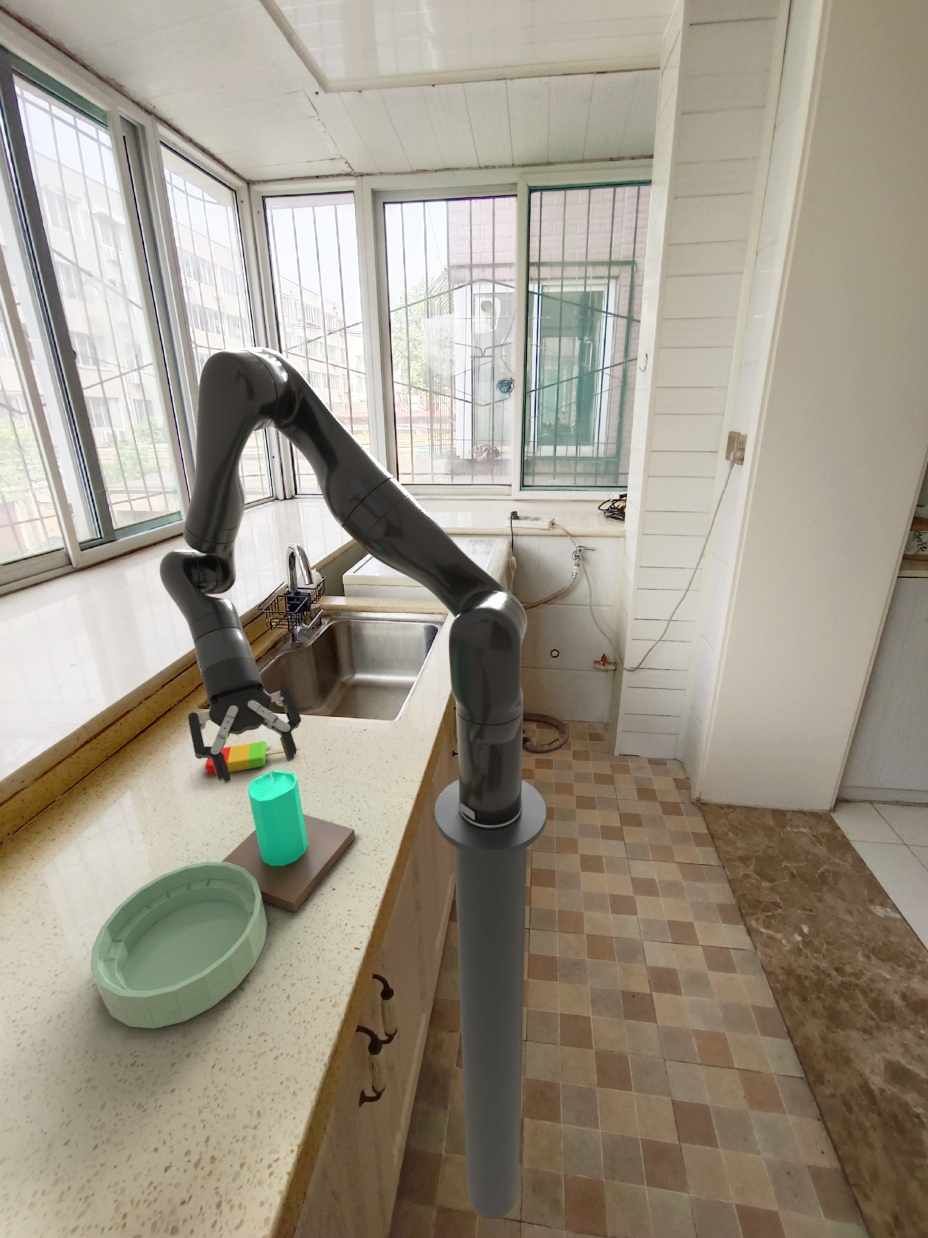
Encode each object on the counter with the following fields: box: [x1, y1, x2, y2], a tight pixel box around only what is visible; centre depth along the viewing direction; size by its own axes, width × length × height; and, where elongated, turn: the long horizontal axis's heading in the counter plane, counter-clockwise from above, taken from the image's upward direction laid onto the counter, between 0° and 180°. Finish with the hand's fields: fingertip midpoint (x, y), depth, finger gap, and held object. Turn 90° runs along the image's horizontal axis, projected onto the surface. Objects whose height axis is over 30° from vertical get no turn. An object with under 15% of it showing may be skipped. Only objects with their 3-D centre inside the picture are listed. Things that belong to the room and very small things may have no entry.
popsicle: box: [205, 740, 301, 776], centre depth 93 cm, size 6×15×2 cm, turn 105°
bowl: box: [90, 861, 268, 1029], centre depth 59 cm, size 16×16×5 cm
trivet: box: [221, 813, 356, 913], centre depth 72 cm, size 13×13×2 cm
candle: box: [247, 769, 308, 866], centre depth 70 cm, size 6×6×12 cm
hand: (260, 770), depth 75 cm, fingers open, 8 cm apart
